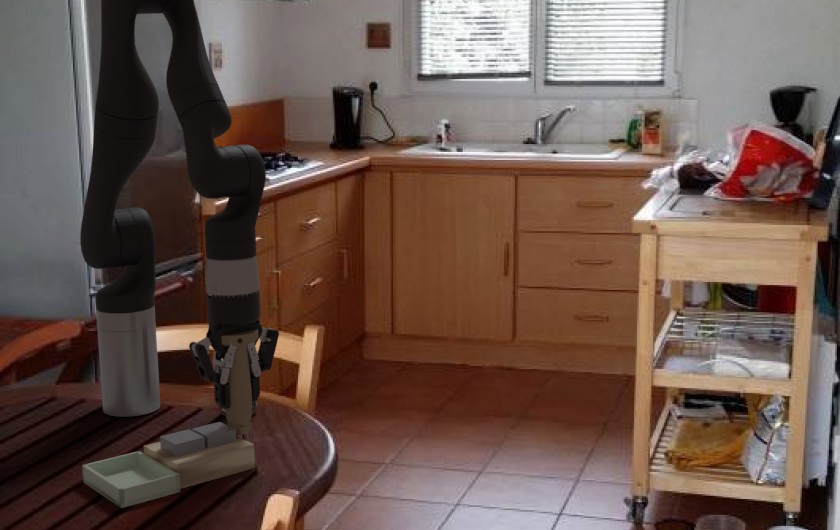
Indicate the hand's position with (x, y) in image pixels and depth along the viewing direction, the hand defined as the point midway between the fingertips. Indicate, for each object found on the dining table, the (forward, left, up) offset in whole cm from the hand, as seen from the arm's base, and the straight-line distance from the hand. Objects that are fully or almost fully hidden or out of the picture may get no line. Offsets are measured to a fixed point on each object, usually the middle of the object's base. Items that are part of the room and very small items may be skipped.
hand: (237, 403), depth 168 cm
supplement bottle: (-18, +10, -8) cm, 22 cm away
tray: (0, -17, -8) cm, 19 cm away
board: (0, -7, -8) cm, 10 cm away
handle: (0, 0, -4) cm, 4 cm away
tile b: (0, -9, -5) cm, 10 cm away
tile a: (0, -4, -5) cm, 6 cm away
